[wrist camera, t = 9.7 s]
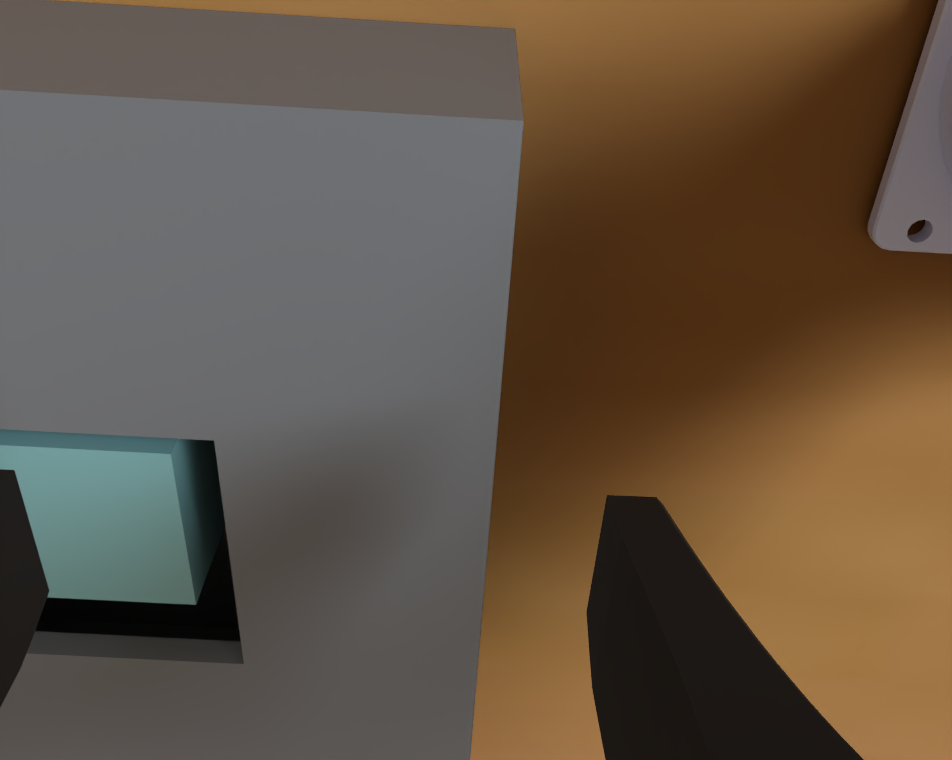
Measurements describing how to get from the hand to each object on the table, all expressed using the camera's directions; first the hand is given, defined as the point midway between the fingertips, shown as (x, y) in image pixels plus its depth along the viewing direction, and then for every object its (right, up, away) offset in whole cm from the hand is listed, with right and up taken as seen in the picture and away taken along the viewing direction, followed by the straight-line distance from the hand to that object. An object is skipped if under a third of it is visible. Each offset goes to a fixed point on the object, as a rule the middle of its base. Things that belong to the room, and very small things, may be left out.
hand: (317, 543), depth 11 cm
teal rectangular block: (-6, +2, +11) cm, 12 cm away
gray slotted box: (-6, +2, +11) cm, 13 cm away
